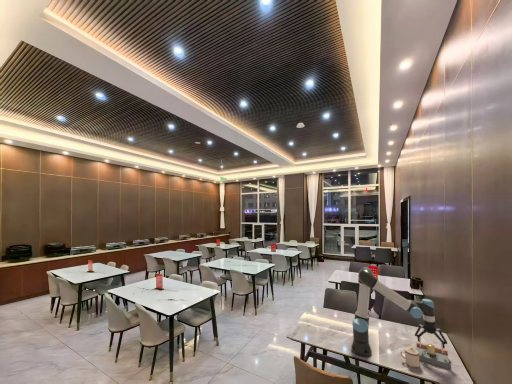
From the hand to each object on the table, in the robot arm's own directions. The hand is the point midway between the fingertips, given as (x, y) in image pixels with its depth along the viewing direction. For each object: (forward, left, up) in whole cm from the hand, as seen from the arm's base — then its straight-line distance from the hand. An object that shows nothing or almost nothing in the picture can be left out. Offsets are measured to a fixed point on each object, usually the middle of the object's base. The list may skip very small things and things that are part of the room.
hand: (431, 349), depth 179 cm
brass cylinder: (0, 0, -7) cm, 7 cm away
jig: (0, 0, -7) cm, 7 cm away
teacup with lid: (-13, -16, -7) cm, 22 cm away
